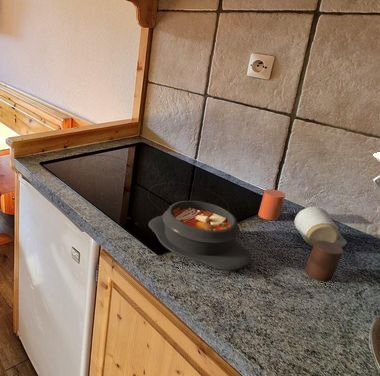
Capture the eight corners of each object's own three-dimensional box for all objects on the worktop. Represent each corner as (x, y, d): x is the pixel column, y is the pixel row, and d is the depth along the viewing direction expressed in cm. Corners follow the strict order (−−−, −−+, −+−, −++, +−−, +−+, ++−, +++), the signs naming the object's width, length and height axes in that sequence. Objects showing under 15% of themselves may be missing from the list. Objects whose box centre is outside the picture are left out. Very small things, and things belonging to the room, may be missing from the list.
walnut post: (324, 268, 89) (334, 241, 86) (337, 282, 85) (348, 254, 82) (300, 266, 89) (310, 239, 87) (312, 280, 85) (322, 252, 82)
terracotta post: (273, 212, 113) (280, 189, 110) (281, 221, 108) (288, 197, 105) (255, 211, 113) (261, 188, 110) (262, 220, 108) (269, 196, 106)
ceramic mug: (301, 248, 96) (312, 220, 93) (290, 230, 103) (299, 204, 100) (350, 254, 94) (363, 226, 91) (335, 236, 102) (346, 209, 98)
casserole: (130, 232, 101) (134, 202, 98) (181, 214, 110) (186, 186, 107) (214, 287, 82) (222, 253, 79) (267, 260, 91) (277, 228, 88)
